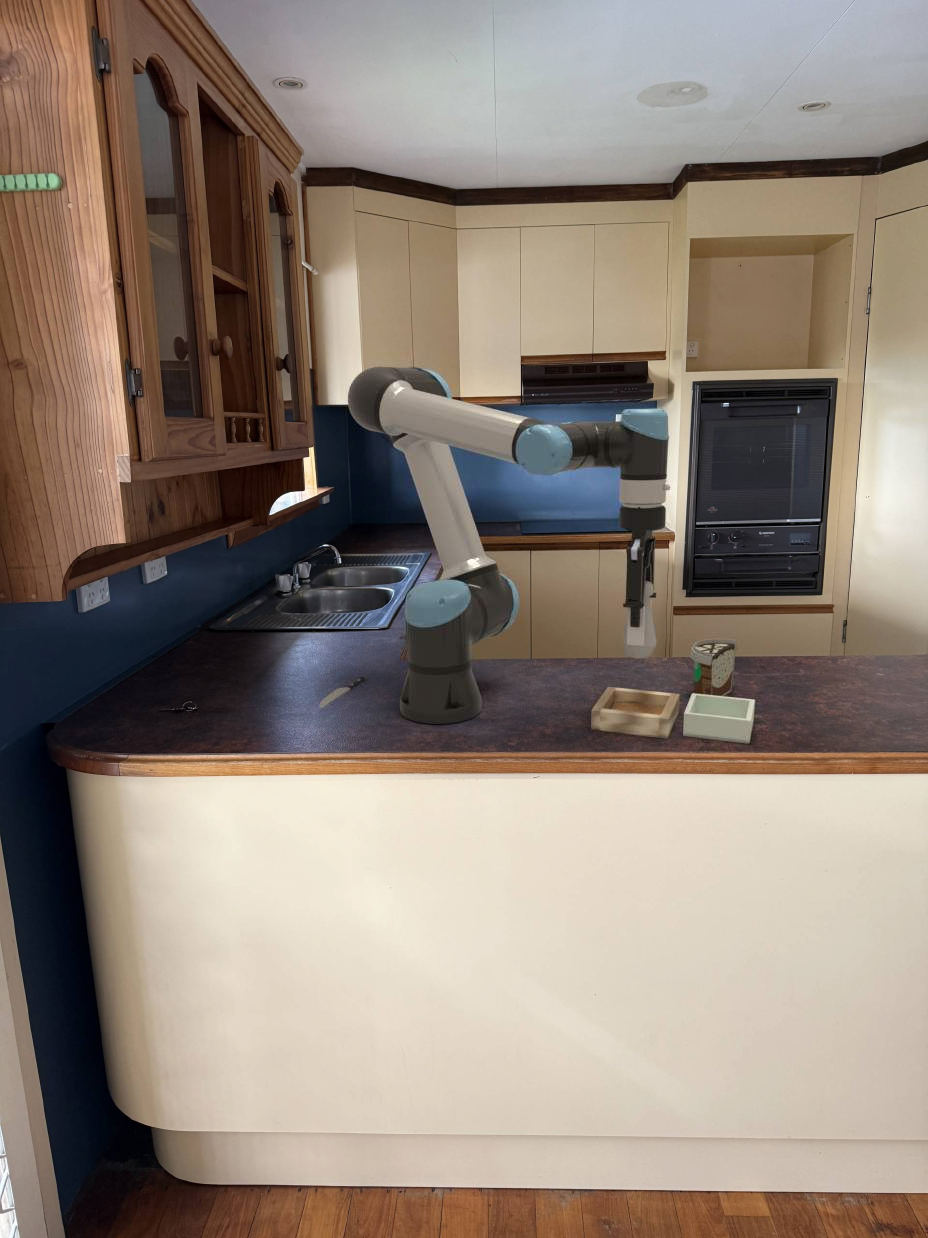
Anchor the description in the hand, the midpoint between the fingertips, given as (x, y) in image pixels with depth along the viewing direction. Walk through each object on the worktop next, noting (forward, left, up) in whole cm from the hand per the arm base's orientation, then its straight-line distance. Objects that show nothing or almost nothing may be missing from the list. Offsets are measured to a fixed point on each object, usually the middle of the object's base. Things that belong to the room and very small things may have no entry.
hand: (639, 639), depth 143 cm
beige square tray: (0, 0, -15) cm, 15 cm away
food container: (+10, +18, -15) cm, 26 cm away
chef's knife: (-58, -4, -16) cm, 61 cm away
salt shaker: (0, 0, -3) cm, 3 cm away
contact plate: (0, 0, -15) cm, 15 cm away
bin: (+14, +1, -15) cm, 20 cm away
